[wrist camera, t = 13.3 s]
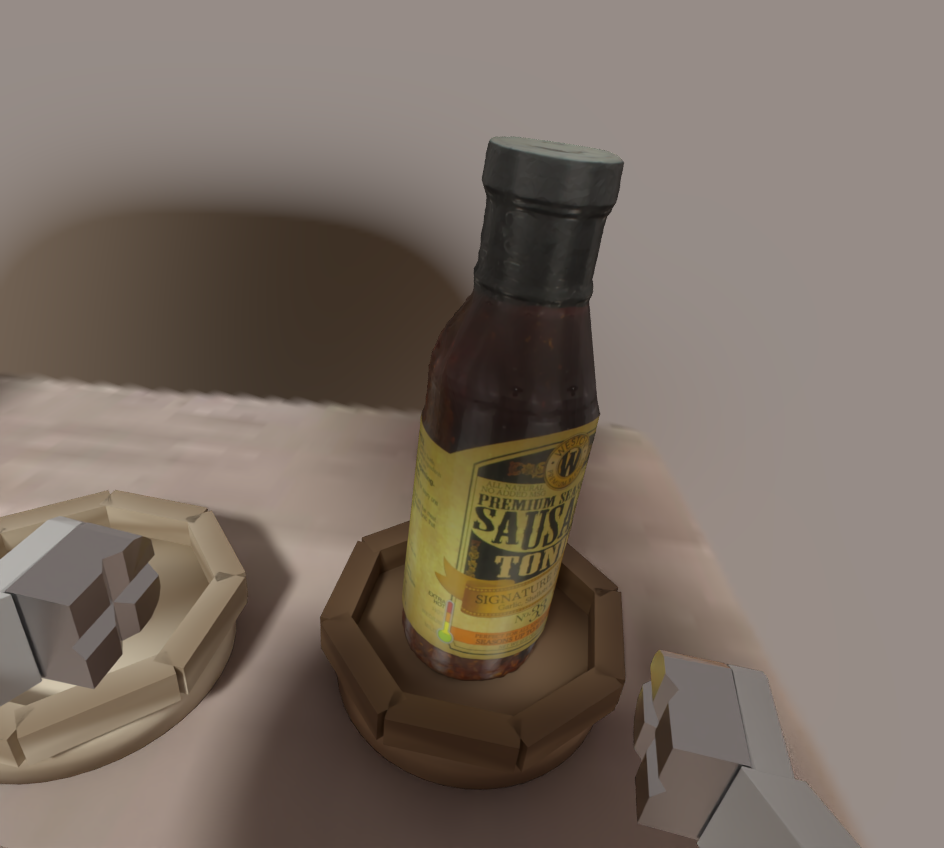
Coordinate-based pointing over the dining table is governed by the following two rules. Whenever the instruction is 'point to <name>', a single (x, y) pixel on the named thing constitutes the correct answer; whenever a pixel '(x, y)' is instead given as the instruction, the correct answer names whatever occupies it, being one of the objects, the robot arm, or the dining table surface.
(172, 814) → the dining table surface
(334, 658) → the walnut ring seat
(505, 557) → the sauce bottle
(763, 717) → the robot arm
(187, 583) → the birch ring seat
